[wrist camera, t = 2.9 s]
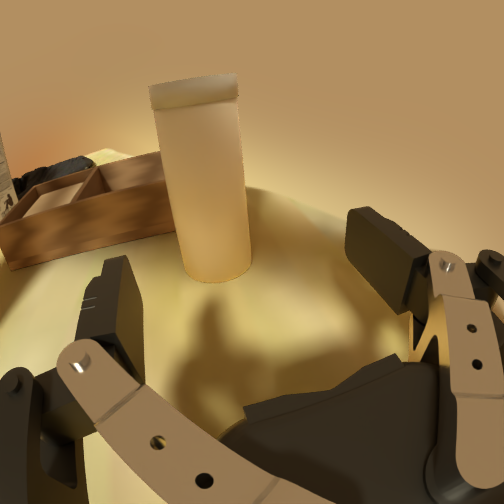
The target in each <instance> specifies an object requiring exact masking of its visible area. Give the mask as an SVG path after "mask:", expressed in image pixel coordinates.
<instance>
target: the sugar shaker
mask: <svg viewBox="0 0 504 504" xmlns="http://www.w3.org/2000/svg"><path fill="white" fill-rule="evenodd" d="M149 93H150V101H151V108H152V109H153V110H154V117H155V123H156V129H157V135H158V141H159V147H160V153H161V159H162V164H163V170H164V175H165V180H166V185H167V190H168V195H169V200H170V205H171V210H172V215H173V219H174V224H175V228H176V233H177V237H178V242H179V246H180V250H181V255H182V259H183V263H184V267H185V271H186V273H187V274H188V275H189V276H190V277H191V278H192V279H194V280H197V281H200V282H204V283H220V282H225V281H229V280H232V279H234V278H237V277H239V276H240V275H242V274H243V273H244V272H246V271H247V270H248V268H249V267H250V265H251V262H252V255H251V245H250V234H249V223H248V212H247V201H246V190H245V180H244V169H243V157H242V146H241V136H240V125H239V115H238V103H237V97H238V96H239V95H238V84H237V74H236V73H232V74H221V75H212V76H204V77H197V78H190V79H183V80H177V81H172V82H166V83H162V84H157V85H152V86H149Z"/></svg>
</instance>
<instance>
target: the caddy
mask: <svg viewBox="0 0 504 504" xmlns="http://www.w3.org/2000/svg"><path fill="white" fill-rule="evenodd" d="M172 231H176V228H175V224H174V219H173V215H172V210H171V205H170V200H169V195H168V190H167V185H166V180H165V175H164V170H163V164H162V159H161V153H160V151H158V152H153V153H149V154H145V155H140V156H136V157H131V158H127V159H123V160H119V161H115V162H111V163H108V164H104V165H100V166H97V167H93V168H89V169H86V170H83V171H79V172H76V173H72V174H69V175H66V176H63V177H60V178H57V179H53V180H50V181H47V182H44V183H42V184H39V185H36V186H33V187H32V188H31V189H30V190H29V191H28V192H27V193H26V194H25V195H24V196H23V197H22V198H21V199H20V200H19V202H18V203H17V204H16V205H15V206H14V207H13V208H12V209H11V210H10V211H9V212H8V213H7V214H6V216H5V217H4V218H3V219H2V220H1V221H0V248H1V250H2V253H3V255H4V257H5V259H6V261H7V263H8V265H9V267H10V269H11V271H13V270H16V269H20V268H24V267H27V266H31V265H35V264H38V263H42V262H46V261H50V260H54V259H58V258H62V257H65V256H69V255H73V254H77V253H81V252H85V251H90V250H94V249H98V248H102V247H106V246H110V245H114V244H119V243H123V242H127V241H132V240H136V239H140V238H145V237H149V236H154V235H158V234H163V233H167V232H172Z"/></svg>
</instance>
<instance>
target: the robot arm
mask: <svg viewBox="0 0 504 504" xmlns="http://www.w3.org/2000/svg"><path fill="white" fill-rule="evenodd" d="M345 253H346V256H347V258H348V260H349V261H350V262H351V263H352V265H353V266H354V267H355V268H356V269H357V270H358V271H359V272H360V273H361V274H362V276H363V277H364V278H365V279H366V280H367V281H368V282H369V283H370V284H371V286H372V287H373V288H374V289H375V290H376V291H377V292H378V293H379V295H380V296H381V297H382V298H383V299H384V300H385V301H386V303H387V304H388V305H389V306H390V307H391V308H392V309H393V311H394V312H395V313H396V314H397V315H399V314H401V313H404V312H406V311H409V310H410V311H411V312H412V313H411V316H410V319H409V356H408V362H401V360H400V359H399V358H398V356H397V355H396V354H395V353H394V354H392V355H390V356H388V357H385V358H383V359H381V360H379V361H376V362H374V363H372V364H369V365H367V366H364V367H363V368H361V369H360V370H359V371H357V372H356V373H355V374H353V375H352V376H350V377H349V378H348V379H346V380H345V381H343V382H342V383H341V384H339V385H338V386H336V387H335V388H333V389H331V390H327V391H320V392H311V393H302V394H291V395H283V396H280V397H277V398H273V399H270V400H267V401H263V402H259V403H256V404H252V405H248V406H244V407H243V410H244V414H245V418H244V419H242V420H240V421H239V422H237V423H235V424H234V425H232V426H231V427H229V428H228V429H227V430H226V431H225V432H223V433H222V434H221V435H220V436H219V437H218V438H217V439H215V438H213V437H212V436H210V435H209V434H208V433H206V432H205V431H204V430H202V429H201V428H200V427H198V426H197V425H196V424H194V423H193V422H192V421H190V420H189V419H188V418H186V417H185V416H184V415H183V414H181V413H180V412H179V411H178V410H176V409H175V408H174V407H173V406H171V405H170V404H169V403H168V402H167V401H165V400H164V399H163V398H162V397H161V396H160V395H158V394H157V393H156V392H155V391H154V390H153V389H151V388H150V387H149V386H148V385H146V383H145V365H144V335H143V303H142V298H141V294H140V291H139V288H138V285H137V283H136V280H135V277H134V274H133V271H132V269H131V266H130V263H129V260H128V258H127V256H126V255H123V256H119V257H115V258H110V259H106V260H105V261H104V264H103V268H102V273H101V276H98V277H94V278H93V279H92V280H91V282H90V283H89V285H88V286H87V287H86V290H85V294H84V298H83V300H84V301H83V302H82V306H81V309H82V310H81V311H80V315H79V320H78V325H77V330H76V335H75V340H74V342H73V343H71V344H69V345H68V346H67V347H66V348H64V350H63V351H62V352H61V353H60V355H59V357H58V360H57V367H55V368H53V369H51V370H49V371H47V372H45V373H42V374H40V375H38V376H36V377H34V376H33V375H32V373H31V372H30V371H29V370H28V369H26V368H24V367H17V368H13V369H11V370H10V371H8V372H7V373H6V374H5V375H4V376H3V377H2V378H1V380H0V504H89V499H88V492H87V484H86V474H85V463H84V449H83V437H85V436H87V435H90V434H92V433H94V432H97V431H98V432H99V433H100V435H101V436H102V437H103V438H104V439H105V441H106V442H107V443H108V444H109V445H110V446H111V447H112V449H113V450H114V451H115V452H116V453H117V454H118V455H119V456H120V457H121V459H122V460H123V461H124V462H125V463H126V464H127V465H128V466H129V467H130V468H131V469H132V470H133V471H134V472H135V473H136V474H137V475H138V476H139V477H140V478H141V479H142V480H143V481H144V482H145V483H146V484H147V485H148V486H149V487H150V488H151V489H152V490H153V491H154V492H156V493H157V494H158V495H159V496H160V497H161V498H162V499H163V500H164V501H166V502H167V503H168V504H504V324H503V323H502V321H501V320H500V319H499V318H498V317H497V316H496V315H495V314H494V313H493V312H492V311H491V310H492V308H493V306H494V304H495V302H496V300H497V298H498V295H499V296H500V297H501V298H502V299H503V300H504V256H503V255H501V254H500V253H498V252H496V251H492V250H482V251H481V252H480V253H479V255H478V258H477V261H476V263H464V261H463V260H462V259H461V258H460V257H458V256H457V255H455V254H453V253H450V252H447V251H435V252H432V251H430V250H429V249H428V248H427V247H425V246H424V245H423V244H422V243H420V242H419V241H418V240H417V239H415V238H414V237H413V236H412V235H410V234H409V233H408V232H407V231H405V230H403V229H402V228H401V227H400V226H399V225H397V224H396V223H395V222H393V221H391V220H389V219H386V218H384V217H383V216H381V215H380V214H379V213H377V212H376V211H375V210H373V209H372V208H370V207H367V206H366V207H361V208H355V209H351V210H349V212H348V215H347V226H346V237H345Z"/></svg>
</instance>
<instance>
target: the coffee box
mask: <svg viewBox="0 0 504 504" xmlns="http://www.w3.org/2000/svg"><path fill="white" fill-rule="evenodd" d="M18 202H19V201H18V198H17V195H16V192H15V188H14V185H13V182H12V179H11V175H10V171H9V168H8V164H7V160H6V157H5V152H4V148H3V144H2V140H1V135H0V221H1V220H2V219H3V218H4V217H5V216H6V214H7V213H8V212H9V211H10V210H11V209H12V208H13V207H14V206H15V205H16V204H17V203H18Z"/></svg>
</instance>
